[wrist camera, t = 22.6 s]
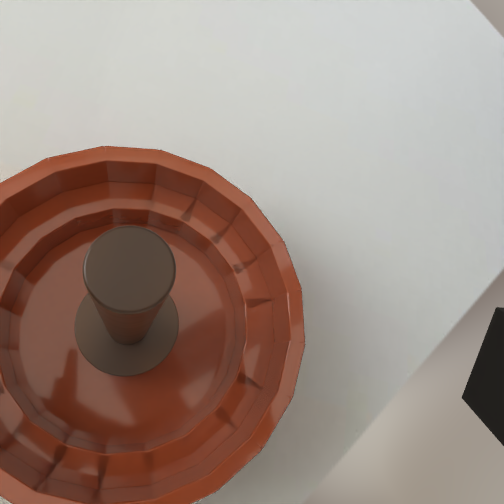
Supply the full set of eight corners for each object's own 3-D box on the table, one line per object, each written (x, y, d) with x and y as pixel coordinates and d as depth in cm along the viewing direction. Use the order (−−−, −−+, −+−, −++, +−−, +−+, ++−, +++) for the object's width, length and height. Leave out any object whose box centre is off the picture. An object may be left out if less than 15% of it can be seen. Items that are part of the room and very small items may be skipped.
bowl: (297, 242, 31) (336, 214, 25) (226, 521, 26) (253, 563, 20) (38, 151, 28) (15, 95, 22) (-97, 444, 23) (-168, 468, 18)
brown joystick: (184, 299, 28) (266, 204, 12) (157, 386, 26) (205, 415, 10) (99, 272, 27) (59, 130, 11) (65, 360, 25) (-38, 347, 9)
